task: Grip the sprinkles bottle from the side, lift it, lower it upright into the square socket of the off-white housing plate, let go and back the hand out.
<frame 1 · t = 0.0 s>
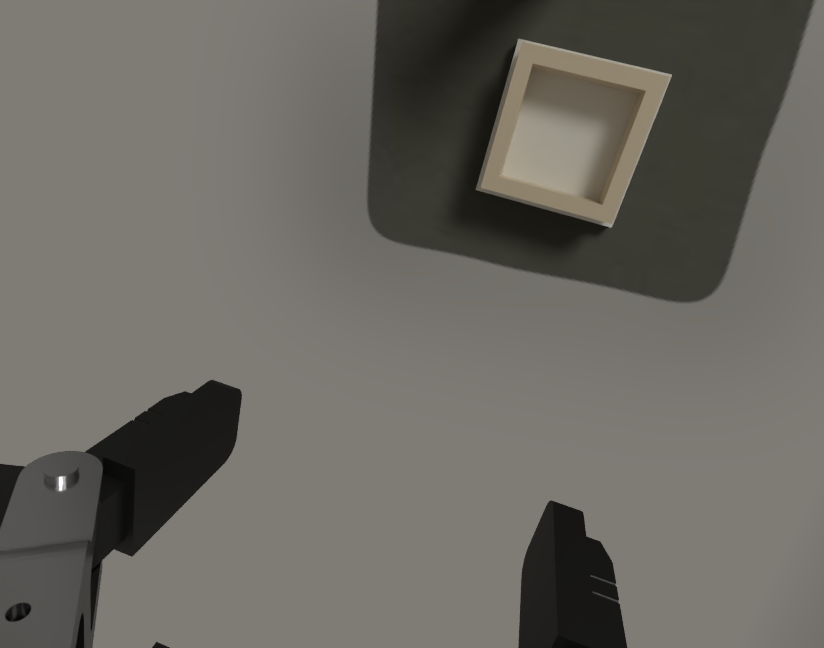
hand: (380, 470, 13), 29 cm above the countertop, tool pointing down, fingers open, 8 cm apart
housing: (566, 136, 36), on the countertop
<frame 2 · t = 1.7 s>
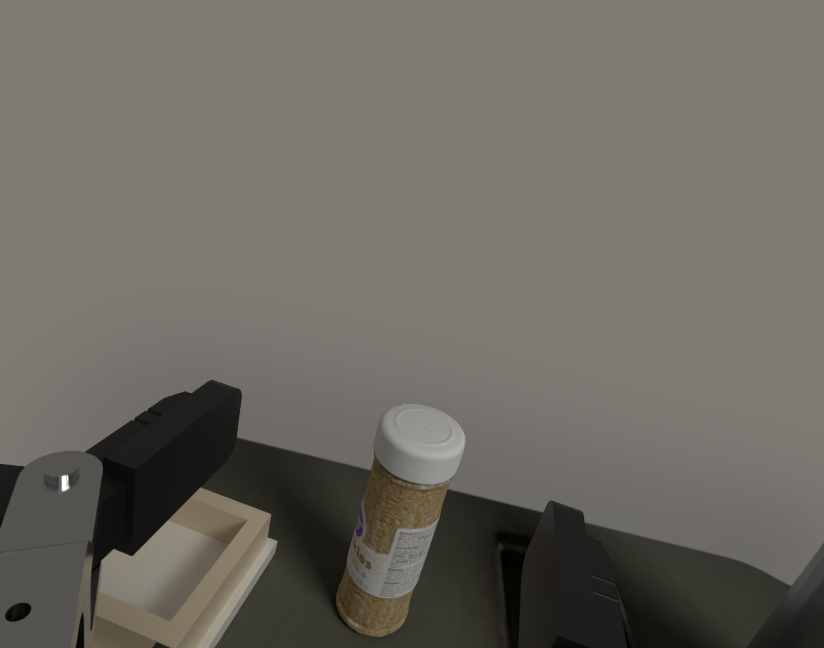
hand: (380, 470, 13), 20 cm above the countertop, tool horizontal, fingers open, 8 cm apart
sprinkles bottle: (371, 607, 31), on the countertop
housing: (153, 586, 29), on the countertop
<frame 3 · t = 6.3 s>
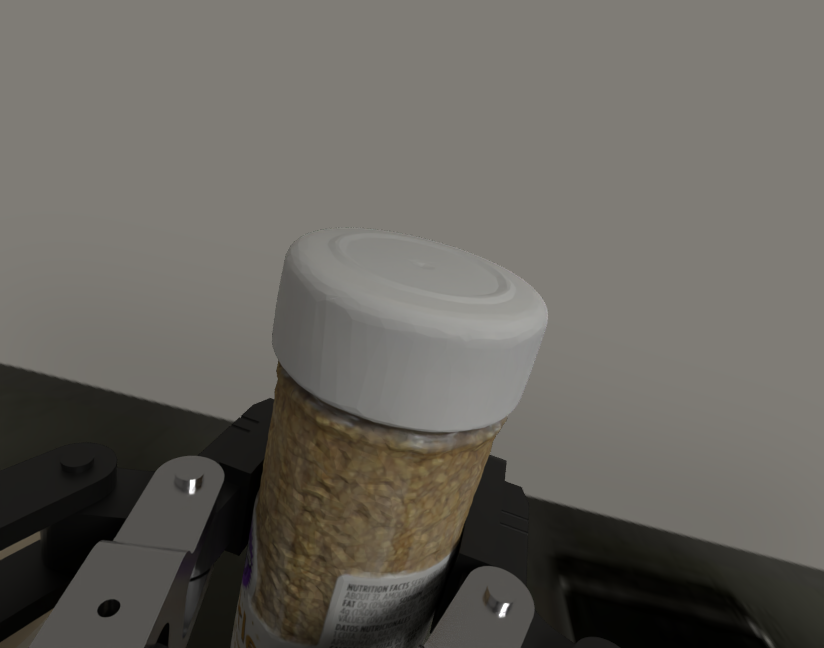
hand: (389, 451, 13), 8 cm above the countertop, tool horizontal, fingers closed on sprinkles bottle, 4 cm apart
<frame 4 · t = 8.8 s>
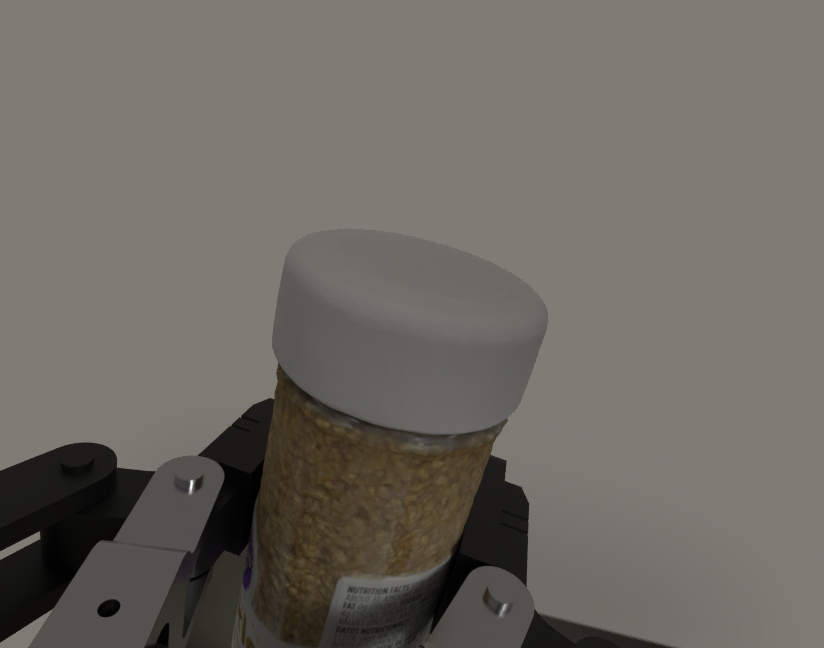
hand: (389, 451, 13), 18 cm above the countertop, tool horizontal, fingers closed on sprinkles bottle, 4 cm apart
when the fingers open (10 cm above the countertop, at t = 11.2 s): sprinkles bottle drops 1 cm, resting on housing.
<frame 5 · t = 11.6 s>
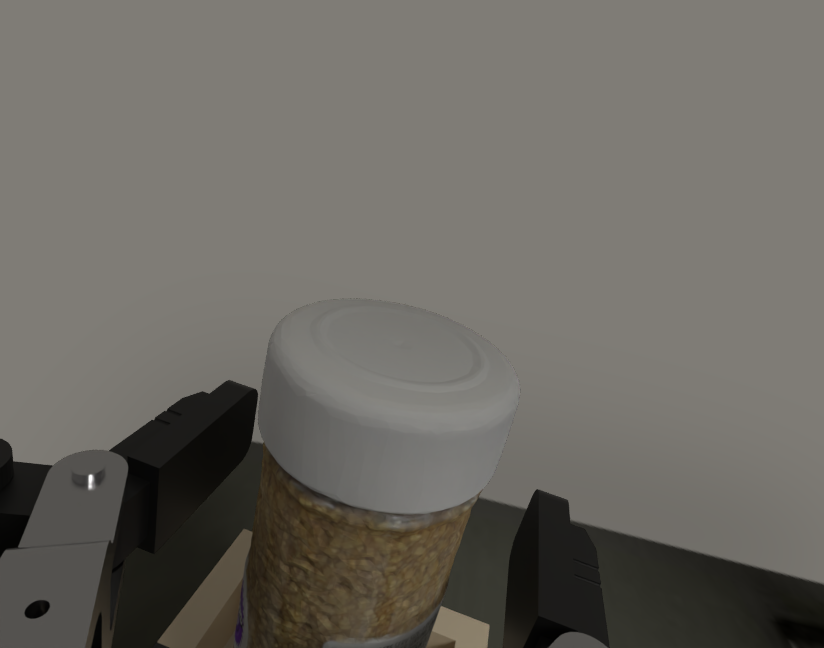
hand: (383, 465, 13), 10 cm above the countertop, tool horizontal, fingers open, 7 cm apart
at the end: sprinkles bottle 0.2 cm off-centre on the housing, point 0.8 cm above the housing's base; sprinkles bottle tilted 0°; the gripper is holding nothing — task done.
